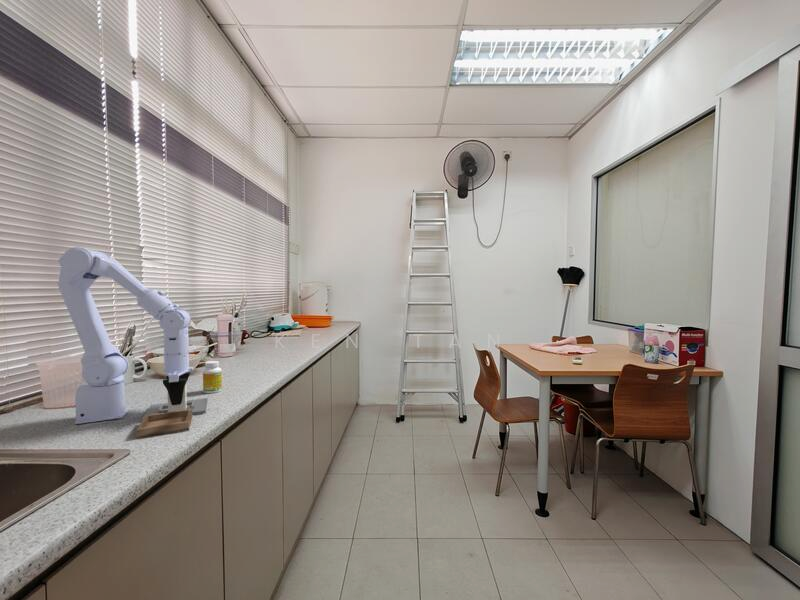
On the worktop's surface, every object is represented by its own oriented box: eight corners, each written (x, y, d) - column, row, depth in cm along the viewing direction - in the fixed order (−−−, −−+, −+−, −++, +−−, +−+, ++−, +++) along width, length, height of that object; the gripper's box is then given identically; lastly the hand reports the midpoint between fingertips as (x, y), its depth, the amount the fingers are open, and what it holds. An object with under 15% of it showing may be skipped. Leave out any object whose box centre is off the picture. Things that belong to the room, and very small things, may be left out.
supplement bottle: (216, 393, 110) (215, 363, 110) (199, 393, 110) (199, 363, 110) (224, 388, 116) (224, 360, 115) (209, 388, 116) (208, 360, 115)
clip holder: (141, 422, 86) (141, 416, 86) (151, 407, 97) (150, 402, 97) (205, 413, 92) (205, 407, 92) (207, 400, 103) (207, 395, 103)
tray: (136, 438, 77) (136, 429, 77) (145, 423, 86) (145, 415, 86) (188, 430, 81) (188, 421, 81) (192, 416, 90) (192, 408, 90)
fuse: (168, 414, 92) (167, 384, 92) (170, 409, 96) (169, 381, 95) (185, 411, 94) (184, 382, 94) (186, 407, 97) (186, 379, 97)
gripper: (191, 356, 90) (192, 407, 90) (195, 348, 102) (196, 392, 103) (158, 358, 86) (159, 411, 87) (167, 349, 99) (168, 396, 100)
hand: (177, 401), depth 95 cm, fingers closed on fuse, 4 cm apart
